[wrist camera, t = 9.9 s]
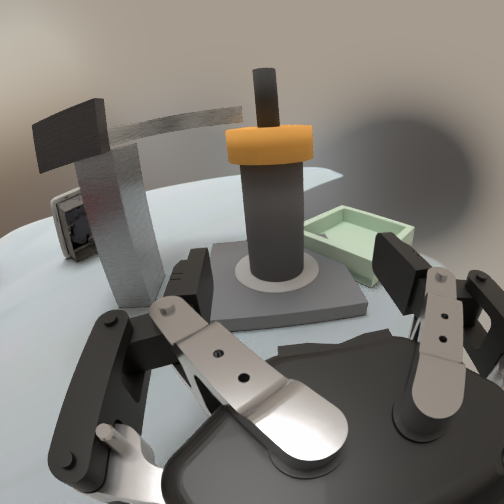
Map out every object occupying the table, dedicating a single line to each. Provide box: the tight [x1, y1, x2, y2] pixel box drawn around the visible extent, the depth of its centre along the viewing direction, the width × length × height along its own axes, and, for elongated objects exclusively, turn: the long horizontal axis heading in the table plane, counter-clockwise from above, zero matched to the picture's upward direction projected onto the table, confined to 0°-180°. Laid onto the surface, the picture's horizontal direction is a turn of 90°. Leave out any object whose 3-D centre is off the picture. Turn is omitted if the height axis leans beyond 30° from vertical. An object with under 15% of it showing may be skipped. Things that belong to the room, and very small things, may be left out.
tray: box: [304, 205, 415, 288], centre depth 27 cm, size 10×10×2 cm
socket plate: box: [210, 234, 368, 332], centre depth 24 cm, size 12×12×1 cm
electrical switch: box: [50, 187, 97, 262], centre depth 32 cm, size 9×5×9 cm, turn 145°
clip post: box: [74, 143, 165, 308], centre depth 21 cm, size 5×3×13 cm
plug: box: [225, 68, 313, 282], centre depth 20 cm, size 6×6×16 cm
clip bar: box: [32, 98, 243, 174], centre depth 18 cm, size 14×13×3 cm
